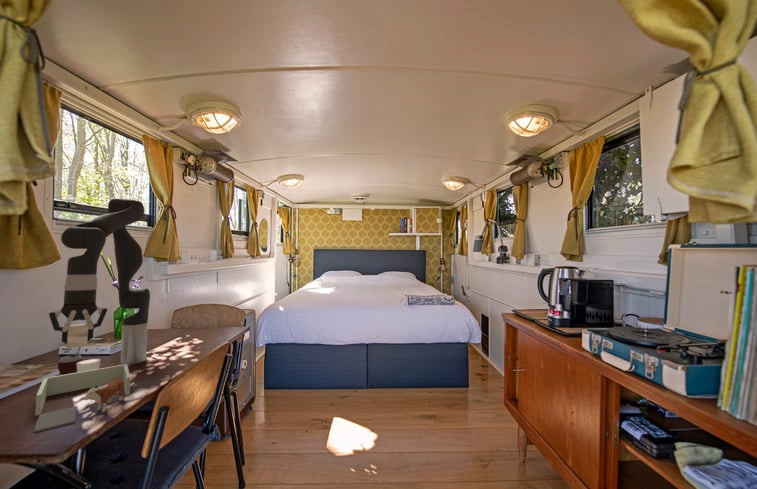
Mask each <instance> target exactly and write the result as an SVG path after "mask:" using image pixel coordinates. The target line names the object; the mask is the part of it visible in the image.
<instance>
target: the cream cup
mask: <svg viewBox="0 0 757 489" xmlns="http://www.w3.org/2000/svg"><path fill="white" fill-rule="evenodd" d="M100 365H101V358H90V359H84V360H83V361H80V362H78V363H77V372H83V371H89V370H95V369H100Z"/></svg>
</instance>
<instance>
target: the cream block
mask: <svg viewBox="0 0 757 489" xmlns="http://www.w3.org/2000/svg"><path fill="white" fill-rule="evenodd" d="M88 329H89V328H88V325H87V323H80V324H70V326H69V327H68V338H67V344H66V349H71V348H77V347H78V348H79V347H80V346H81V347H86V346H88V341H87V340H88Z"/></svg>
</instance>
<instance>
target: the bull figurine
mask: <svg viewBox="0 0 757 489" xmlns="http://www.w3.org/2000/svg"><path fill="white" fill-rule="evenodd" d="M123 383H124V382H123V380H121V379H120V378H117V379H116V380H114V381H112V382H110V383H108V384H106V385H101V386H97V387H91V388H89V390H88V391H87V392H86V394H85V395H84V397H83V400H84V401H87V400H91V401H94V402H95V403H96V405H97V408H96V412H97V411H101V413H105V412H106V411H107V405H109V404H111V402H112V398H114V397H115V395H118V393H119V398H118V402H121V401H123V398H124V397H123V394H124V391H123V389H124V384H123ZM102 405H103V406H102Z"/></svg>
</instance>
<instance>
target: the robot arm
mask: <svg viewBox="0 0 757 489" xmlns="http://www.w3.org/2000/svg"><path fill="white" fill-rule="evenodd" d="M144 215H145V206H144V204H143V203H142V202H141V200H137V199H130V198H128V199H127V198H118V197H117V198H115V197H114V198H111V199H110V200H109V201H108V205H107V213H105V214H102V215H98V216H97V217H95V218H93V219H91V220H90V221H87V222H84V223H79V224H74V225H71V226H69V227H68V228H66V229H65V230H64V231H63V232H62V233H61V237H60V240H61V243H62V244H63V246H64V247H66V248H67V249H68V248H69V249H73V250H75V249H77V250H85V252H84V253H83V254H80V255H75V256H70V257H69V258H68V260H67V267H66V268H67V269H66V278H65V283H64V293H63V294H64V295H63V296H64V297H63V306H62V307H61V308H60V309H59V310H55V311H50V312H49V313H48V316H49V319H50V322H51V325H52V328H53V331H56V332H58V331H59V332H61V342H62V343H64V344H65V345H67V338H68V327H69V326H70V325H72V322H74V321H85V324H87V325H88V340H87V342H90V340H92V339H93V338H94V329H95V328H99V327H101V326H102V323H103V322H104V319H105V317H106V315H107V312H108V309H107V307H98V306H97V304H96V303H97V291H98V290H97V287H98V278H97V273H98V272H97V271H98V261H99V258H100V256H101V254H102V252H103V248H104V246H105V245H106V241H107V237H109V236H110V235H112V236H113V237H112V238H113V245H114V255H115V256H114V257H115V264H116V270H117V278H118V279H117V280H118V304H119V306H120V308H121V309H123V310H124V309H125V310H131V309H132V310H133V309H134V310H135V309H138V312H136V313H134V314H132V315H128V316H125V317H123V318H122V321H121V322H122V327H121V346H120V365H124V364H127V365H134V364H135V365H136V364H140V363H143V362H145V361H146V360H147V350H148V349H147V347H148V346H147V345H148V325H149V324H148V323H149V322H148V321H149V312H150V311H149V309H150V301H151V292H150V289H149V288H146V287H145V288H139V287H138V288H130V283H131V281H132V279H133V278H134V276H135V275H136V274H137V272H138V271H139V270H140V268H141V267H142V265H143V262H144V259H143V249H142V246H141V245H140V244H139V243H138V241H136V239H135V238H134V237H133V236H132V235H131V234H130V232H129V231H128V230H127V227H126V226H129V225H131V224H133V223H137V222H139V221H141V220H142V219H143V218H144ZM96 311H97V314H98V315H99V316H98V318H97V321H96V322H95V323H93V320H92V318H91V317H92V316H93V314H94V313H95V312H96ZM60 314H62V315H64V317H65V318H66V321H65V324H64V325H63V326H61V324H60V323H59V320H58V318H60Z"/></svg>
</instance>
